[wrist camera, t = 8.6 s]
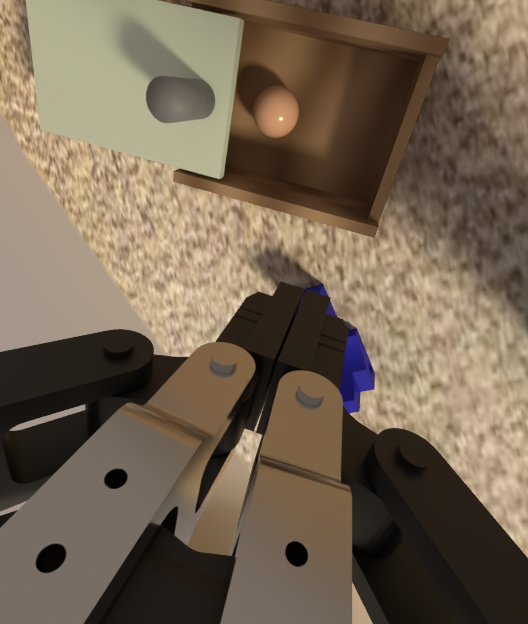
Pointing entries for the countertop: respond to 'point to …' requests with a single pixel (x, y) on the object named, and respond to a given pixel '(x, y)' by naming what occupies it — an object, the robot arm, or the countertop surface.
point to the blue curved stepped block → (351, 364)
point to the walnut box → (322, 112)
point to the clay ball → (275, 111)
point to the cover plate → (137, 77)
